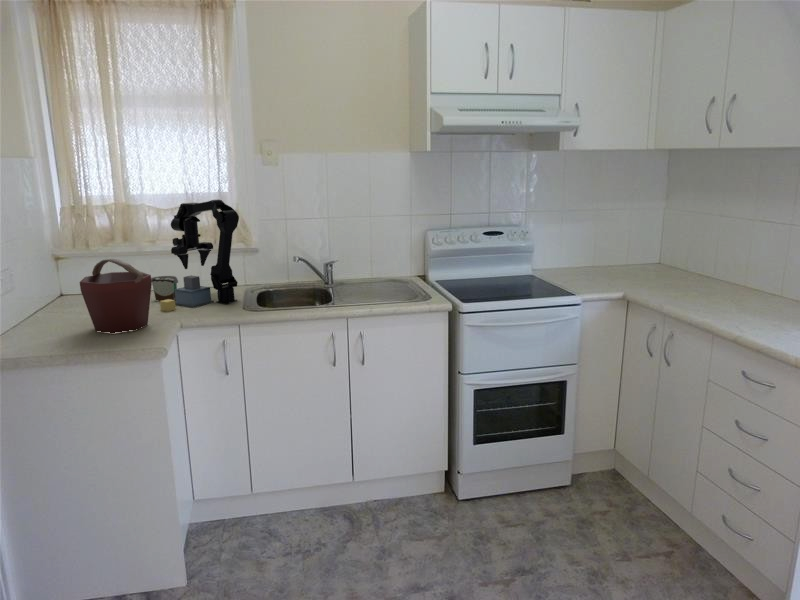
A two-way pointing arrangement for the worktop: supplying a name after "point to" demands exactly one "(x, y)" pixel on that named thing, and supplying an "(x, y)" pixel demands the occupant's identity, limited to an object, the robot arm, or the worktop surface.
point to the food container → (164, 287)
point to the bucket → (117, 298)
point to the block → (167, 305)
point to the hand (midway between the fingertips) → (194, 267)
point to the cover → (192, 292)
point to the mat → (195, 305)
